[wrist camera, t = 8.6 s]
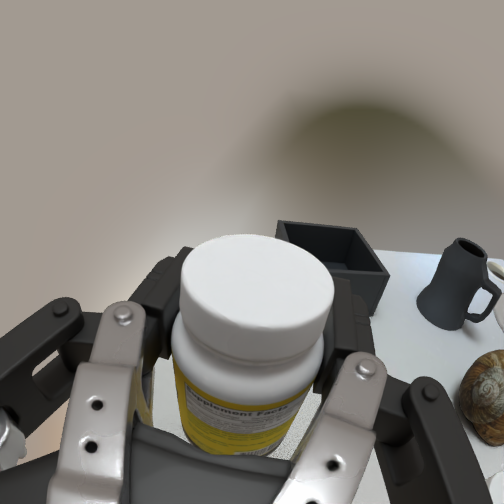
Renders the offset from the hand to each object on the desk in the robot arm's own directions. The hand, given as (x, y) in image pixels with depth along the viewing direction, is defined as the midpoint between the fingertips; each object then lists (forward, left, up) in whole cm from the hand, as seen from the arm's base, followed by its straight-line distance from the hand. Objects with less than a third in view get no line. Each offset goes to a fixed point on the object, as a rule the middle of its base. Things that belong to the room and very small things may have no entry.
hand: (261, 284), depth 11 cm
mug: (+28, +24, -18) cm, 40 cm away
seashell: (+28, +6, -18) cm, 33 cm away
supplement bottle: (0, -3, -6) cm, 7 cm away
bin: (+7, +26, -17) cm, 32 cm away
